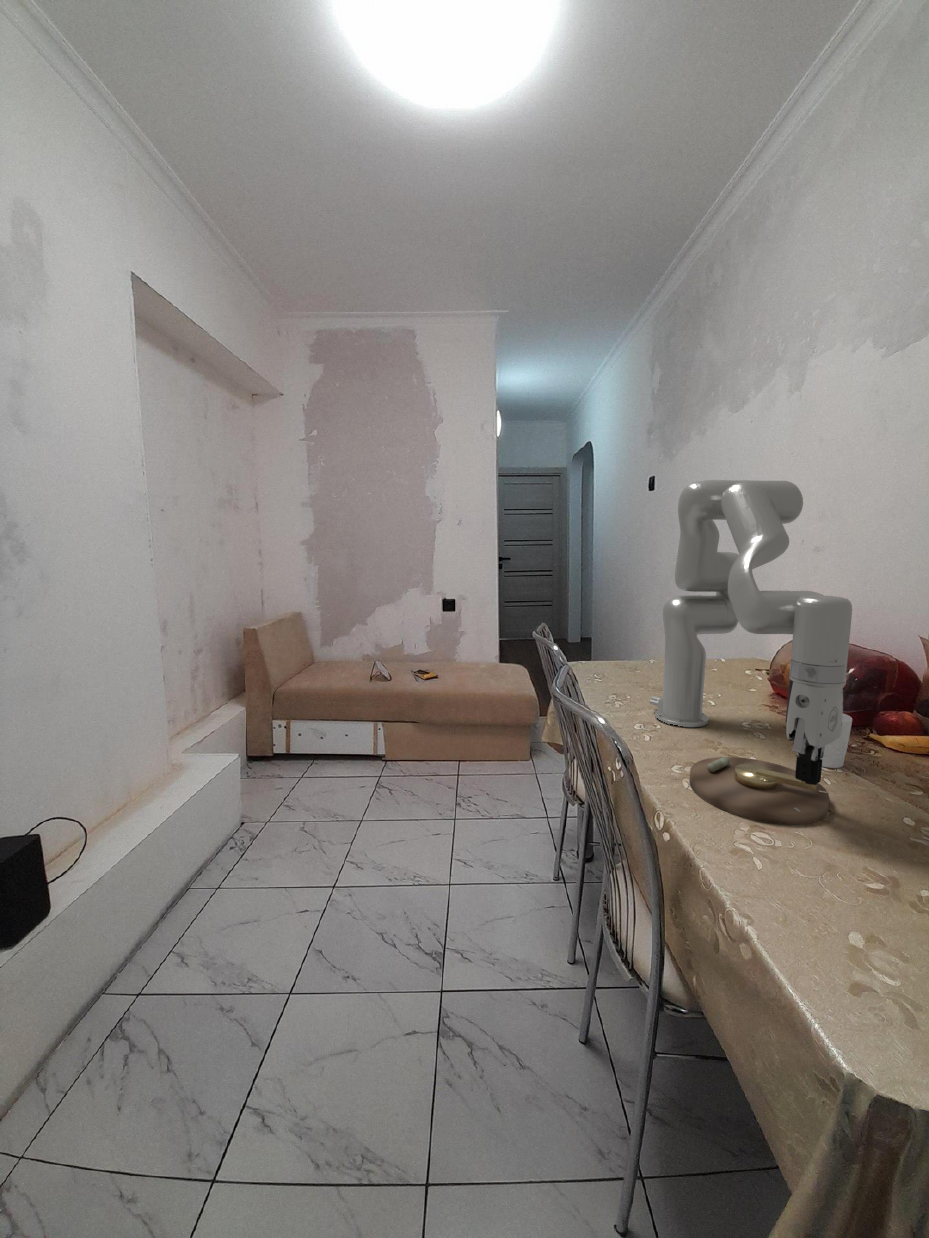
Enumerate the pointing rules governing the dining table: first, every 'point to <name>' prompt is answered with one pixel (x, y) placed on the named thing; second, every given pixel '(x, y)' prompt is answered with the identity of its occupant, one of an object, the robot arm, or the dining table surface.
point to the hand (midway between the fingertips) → (807, 780)
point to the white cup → (838, 746)
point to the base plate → (756, 793)
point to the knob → (766, 777)
